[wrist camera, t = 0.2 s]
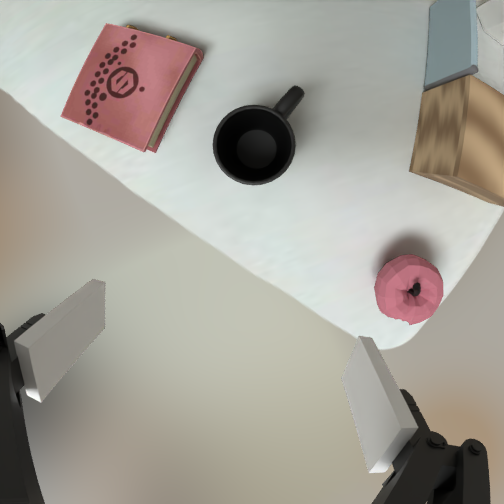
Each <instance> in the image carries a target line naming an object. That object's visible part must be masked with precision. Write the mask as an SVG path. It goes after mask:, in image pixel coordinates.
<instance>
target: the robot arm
mask: <svg viewBox="0 0 504 504" xmlns="http://www.w3.org/2000/svg"><path fill="white" fill-rule="evenodd" d="M104 329H105V282H103V281H99V280H96V279H92V280H91V281H89V282H88V283H87V284H85V285H84V286H83V287H81V288H80V289H79V290H77V291H76V292H75V293H73V294H72V295H71V296H69V297H68V298H67V299H66V300H64V301H63V302H62V303H60V304H59V305H58V306H57V307H55V308H54V309H53V310H51V311H50V312H49V313H48V314H46V315H45V314H43V313H41V314H39V315H36V316H33V317H32V318H31V319H29V320H28V321H27V322H26V323H24V324H23V325H21V327H19V328H18V329H17V330H15V331H14V332H13V333H11V334H10V335H9V336H8V337H6V334H5V329H4V326H3V325H2V324H1V323H0V504H45V502H44V499H43V496H42V494H41V490H40V486H39V483H38V480H37V476H36V472H35V468H34V464H33V460H32V456H31V451H30V446H29V442H28V436H27V431H26V426H25V419H24V413H23V406H22V398H21V394H20V389H21V388H22V387H23V386H25V389H26V392H27V395H28V396H30V397H31V398H34V399H35V400H37V401H39V402H42V401H43V400H44V399H45V397H46V396H47V395H48V394H49V392H50V391H51V390H52V389H53V388H54V386H55V385H56V384H57V383H58V382H59V380H60V379H61V378H62V377H63V376H64V375H65V373H66V372H67V371H68V370H69V368H70V367H71V366H72V365H73V364H74V363H75V362H76V360H77V359H78V358H79V357H80V356H81V355H82V353H83V352H84V351H85V350H86V349H87V348H88V347H89V345H90V344H91V343H92V342H93V341H94V340H95V339H96V338H97V336H98V335H99V334H100V333H101V332H102V331H103V330H104ZM341 379H342V382H343V385H344V389H345V392H346V395H347V398H348V402H349V405H350V408H351V412H352V415H353V419H354V422H355V425H356V428H357V432H358V436H359V439H360V443H361V446H362V450H363V454H364V457H365V461H366V464H367V468H368V472H369V473H376V472H385V471H386V470H387V469H388V468H389V466H390V465H391V464H393V467H394V471H393V473H392V474H391V475H390V476H389V477H388V478H387V480H386V481H385V482H384V483H383V484H382V485H383V488H382V489H381V491H380V492H379V494H378V495H377V497H376V498H375V500H374V501H373V502H372V504H426V502H427V504H490V482H489V469H488V459H487V451H486V448H485V446H484V445H483V444H482V443H481V442H480V441H478V440H475V439H468V440H466V441H465V442H464V443H463V444H462V445H461V446H460V447H458V446H453V445H448V444H447V441H446V439H445V438H444V437H443V436H441V435H440V434H439V433H436V432H433V431H430V429H429V427H428V425H427V423H426V421H425V419H424V418H423V416H422V414H421V412H419V408H418V406H416V402H415V401H414V399H413V397H412V396H411V395H410V394H409V393H408V392H407V391H406V390H404V389H399V388H398V386H397V384H396V382H395V380H394V378H393V376H392V375H391V372H390V370H389V369H388V367H387V365H386V363H385V361H384V359H383V357H382V356H381V354H380V352H379V350H378V348H377V346H376V344H375V343H374V341H373V339H372V338H370V337H363V336H359V337H358V339H357V342H356V344H355V347H354V349H353V352H352V354H351V356H350V359H349V361H348V364H347V366H346V368H345V370H344V373H343V375H342V377H341Z"/></svg>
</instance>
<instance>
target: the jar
mask: <svg viewBox="0 0 504 504" xmlns="http://www.w3.org/2000/svg"><path fill="white" fill-rule="evenodd" d="M476 12H477V15H478V17H479V20H480V22H481V25H482V27H483V30H484V32H486V33H487V34H488V35H490V36H491V37H492V38H494V39H495V40H496V41H497V42H499V43H500V44H501V45H504V0H488V1H487V2H485V3H484V4H482V5H481V6H479V7H478V8H476Z"/></svg>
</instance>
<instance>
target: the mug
mask: <svg viewBox="0 0 504 504" xmlns="http://www.w3.org/2000/svg"><path fill="white" fill-rule="evenodd" d="M304 94H305V93H304V91H303V90H302V89H301V88H300V87H298V86H293V87H292V88H290V89H289V90H288V92H287V93H286V94H285V95H284V96H283V97H282V98H281V99H280V101H279V102H278V103H277V104H276V105H275V107H274V108H273V109H271V108H268V107H265V106H260V105H248V106H243V107H240V108H237V109H235V110H233V111H232V112H230V113H228V114H227V115H226V116H225V117H224V118H223V119H222V120H221V122H220V123H219V125H218V126H217V129H216V131H215V134H214V138H213V153H214V156H215V159H216V162H217V164H218V165H219V167H220V168H221V170H222V171H223V172H224V173H225V174H226V175H227V176H228V177H230V178H232V179H233V180H235V181H237V182H240V183H242V184H247V185H262V184H266V183H269V182H272V181H273V180H275V179H277V178H278V177H280V176H281V175H282V174H283V173H284V172H285V171H286V170H287V169H288V167H289V166H290V164H291V162H292V160H293V157H294V154H295V146H296V145H295V136H294V133H293V130H292V128H291V126H290V124H289V123H288V121H287V120H286V119H287V118H288V117H289V115H290V114H291V113H292V111H293V110H294V109H295V108H296V106H297V105H298V104H299V102H300V101H301V100H302V98H303V97H304Z"/></svg>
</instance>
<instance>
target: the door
mask: <svg viewBox="0 0 504 504" xmlns="http://www.w3.org/2000/svg"><path fill="white" fill-rule="evenodd" d="M477 66H478V34H477V13H476V0H438V1H437V2H435V3H434V4H433V5H432V6H431V7H430V22H429V43H428V57H427V68H426V78H425V85H424V89H425V90H426V91H428V90H431V89H433V88H436V87H438V86H441V85H444V84H446V83H449V82H452V81H454V80H457V79H460V78H462V77H465V76H468V75H472V74H475V73H477V72H478V68H477Z"/></svg>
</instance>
